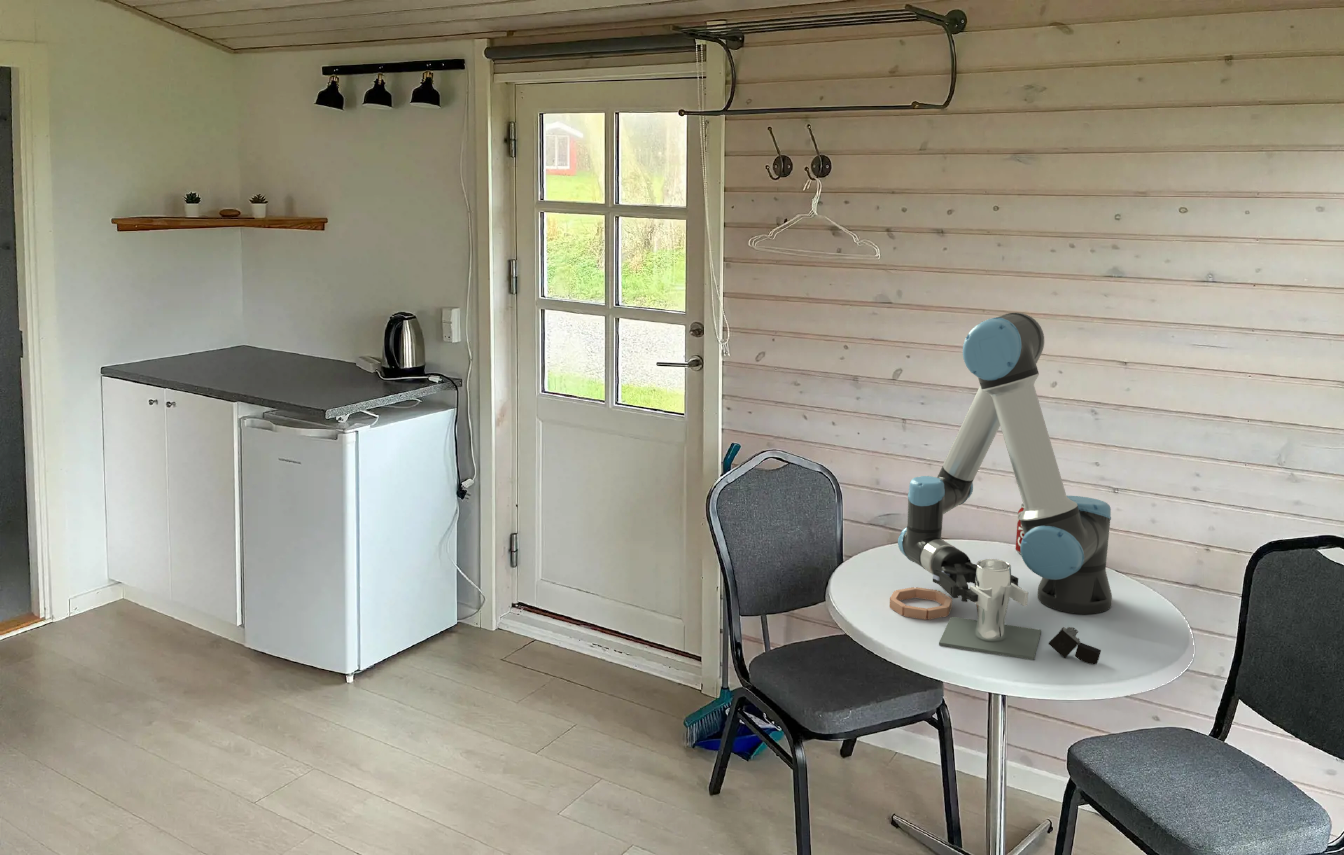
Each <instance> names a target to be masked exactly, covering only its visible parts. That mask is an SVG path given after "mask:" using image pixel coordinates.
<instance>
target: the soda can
mask: <svg viewBox="0 0 1344 855" xmlns="http://www.w3.org/2000/svg"><path fill="white" fill-rule="evenodd" d="M1023 510H1024V505H1023V503H1021V507H1020V508H1019V510H1018V511H1017V520H1016V521H1017V524H1016V537H1015V538H1016V539H1015V551H1016V552H1017V553H1019V554H1020V555H1021V550H1020V547H1021V542H1022V539H1023V537H1024V532H1023V529H1022V525H1021V522H1020V515H1021V513H1022V512H1023Z"/></svg>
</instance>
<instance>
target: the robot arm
mask: <svg viewBox="0 0 1344 855" xmlns="http://www.w3.org/2000/svg"><path fill="white" fill-rule="evenodd" d="M963 341H964V342H963V344H962V358H963V362H964V364H965V367H966V369H968V371H970V373H971V374H973V375H974V376H975V377H977V378H978V381H979V382H978V383H979V387H978V389H977V391H976V394H975V396H974V398H973V399H972V402H971V404H970V406H969V409H968V411H967V413H966V415H965V417H964V419H963V422H962V424H961V425H960V428H959V430H958V431H957V434H956V436H955V439H954V440H953V443H952V445H951V447H950V449H949V451H948V454H947V456H946V458H945V459H944V461H943V464H942V467H941V469H940V470H939V472H938V474H937V477H936V476H935V477H934V476H932V475H931V476H930V475H921V476H915V477H913V478H911V480H910V482H909V486H908V487H909V488H908V493H907V501H908V502H907V526H906V527H905V528H903V529H902V530H901V532H900V534H899V536H898V539H897V546H898V549H899V551H900V552H901V553H902V555H904V556H905V557H906V559H908V560H909V561H910V562H912V563H914V564H917V565H918V566H920V567H921V568H923V569H924V570H925V571H928V573H929V574H931V575H932V582H933V583H934V584H937V585H938V586H939V587H941V589H943V590H944V591H945V592H946V593H947V595H948V596H949V597H951V598H952V599H958V598H959V597H961V599H960V600H961V602H963V603H967V602H968V601H970V602H972V603H975V605H976V604H977V605H979V606H980V607H982V608H983V609H985V610H986V611H990V609H991V597H990V596H988V595H987V594H985V593H984V592H982V591H980V590H979V589H977V588H976V587H975V574H976V566H977V563H976V564H975V563H973V562H972V560H971V559H970V558H969V556H968V555H967V554H966V553H965V552H964V551H962V550H960V549H959V548H957V547H956V546H955V545H952V544H951V543H949V542H947V541H945V540H944V539H943V538H942V532H943V531H942V530H943V519H944V518H943V517H944V514H947V513H948V512H949V511H951V510H952V509H954V508H956V507H958V506H961V505H962V504H964V503H965V502H966V501H967V500H969V499H970V497H971V496H972V495H973V491H974V480H975V478H976V475H977V474H978V472H979V470H980V468H981V466H982V464H983V462H984V460H985V457H986V455H987V453H988V451H989V450H990V447H991V445H992V443H993V441H994V439H995V437H996V435H997V433H998V431H999V429H1000V430H1001V433H1002V436H1003V439H1004V443H1005V446H1006V449H1007V454H1008V457H1009V460H1010V463H1011V467H1012V470H1013V474H1014V477H1015V480H1016V484H1017V487H1018V491H1019V494H1020V496H1021V501H1022V504H1023V505H1024V510H1023V512H1022V513H1021V515H1020V522H1021V525H1022V529H1023V532H1024V537H1023V539H1022V542H1021V547H1020V550H1021V554H1020V555H1021V558H1022V561H1023V563H1024V564H1025V565H1026V567H1027V568H1028V569H1029V570H1030V571H1031V572H1032V573H1034V574H1035V575H1038V576H1039V577H1041V579H1040V581H1039V583H1038V584H1039V585H1038V588H1037V596H1036V597H1037V599H1038V601H1039V602H1041V604H1043V605H1044V606H1046V607H1048V608H1051V609H1054V610H1056V611H1059V612H1064V613H1069V614H1076V615H1077V614H1079V615H1093V614H1100V613H1104V612H1106V611H1108V610H1109V609H1111V607H1112V602H1113V601H1112V600H1113V594H1112V590H1111V587H1110V586H1111V585H1110V582H1109V579H1108V575H1107V570H1106V568H1107V559H1108V549H1109V548H1108V547H1109V539H1110V538H1109V537H1110V528H1111V527H1110V526H1111V520H1112V516H1111V515H1112V514H1111V513H1112V512H1111V510H1112V509H1111V507H1110V504H1108V502H1106V501H1104V500H1100V499H1099V498H1098V499H1097V498H1092V497H1087V496H1079V495H1067V493H1066V489H1065V487H1064V482H1063V479H1062V477H1061V473H1060V469H1059V466H1058V462H1057V459H1056V456H1055V452H1054V448H1053V446H1052V442H1051V439H1050V435H1049V433H1048V432H1049V431H1048V428H1047V425H1046V422H1045V418H1044V415H1043V411H1042V409H1041V404H1040V401H1039V398H1038V394H1037V391H1036V387H1035V382H1037V379H1038V378H1039V375H1040V374H1039V369H1038V365H1037V363H1038V361H1039V360H1040V357H1041V355H1042V353H1043V351H1044V348H1045V335H1044V330H1043V329H1042V326H1041V324H1040V323H1039V322H1038V321H1037V320H1036V319H1035V318H1033V317H1032V316H1030V315H1028V314H1026V313H1023V312H1009V313H1005V314H1003V315H1000V316H995V317H991V318H988V319H986V320H984V321H981V322H980V323H978V324H977V325H975V326H974V327H972V329H970V331H969V332H968V334H967V335H966V337H965V338H964V340H963ZM968 583H969V584H970V583H971V584H974V585H969V584H968ZM1028 596H1029V592H1028V591H1026V590H1025V589H1023V588H1022V587H1020V586H1019V577H1017V576H1016V575H1012V574H1011V593H1010V599H1012V600H1013V601H1015V602H1017V603H1018V604H1019V605H1021V606H1023V607H1026V606H1028V602H1029V600H1028Z"/></svg>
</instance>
